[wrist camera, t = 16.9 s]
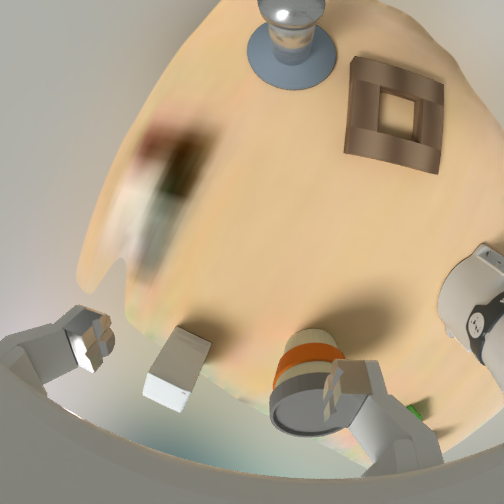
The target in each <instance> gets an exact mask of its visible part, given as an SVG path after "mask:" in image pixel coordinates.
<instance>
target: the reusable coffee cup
mask: <svg viewBox="0 0 504 504" xmlns="http://www.w3.org/2000/svg"><path fill="white" fill-rule="evenodd" d="M334 359H345V357H344V355H343V354H342V352H341V351H340V350H339V349H338V347H337V344H336V342H335V340H334V338H333V336H332V335H331V334H329V333H328V332H326V331H324V330H321V329H313V328H311V329H305V330H301V331H299V332H297V333H295V334H294V335H292V336H291V337H290V338H289V340H288V341H287V344H286V347H285V351H284V355H283V356H282V358H281V359H280V362H279V364H278V368H277V371H276V375H275V378H274V382H273V392H272V394H271V396H270V402H269V404H270V419H271V422H272V424H273V425H274V426H275V427H276V428H277V429H278V430H280V431H282V432H284V433H286V434H289V435H293V436H297V437H320V436H325V435H329V434H332V433H335V432H337V431H339V430H341V429H343V428H345V427H325V426H324V410H325V407H326V404H325V403H324V401H323V390H324V385H325V381H326V378H327V376H328V375H330V374H331V365H332V363H333V361H334Z"/></svg>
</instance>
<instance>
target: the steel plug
mask: <svg viewBox="0 0 504 504" xmlns="http://www.w3.org/2000/svg"><path fill="white" fill-rule="evenodd" d="M258 6H259V10H260V13H261V15H262V17H263V18H264V20H266V21H267V23H268V28H269V33H270V39H271V44H272V50H273V54H274V56H275V58H276V59H277V60H278V61H279V62H281V63H283V64H285V65H290V66H295V65H300V64H302V63H304V62H305V61H306V60H307V59H308V57H309V55H310V50H311V45H312V40H313V35H314V30H315V25H316V24H317V23H318V22H319V21H320V20H321V18H322V16H323V13H324V9H325V0H258Z"/></svg>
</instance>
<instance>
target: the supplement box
mask: <svg viewBox="0 0 504 504" xmlns="http://www.w3.org/2000/svg"><path fill="white" fill-rule="evenodd" d="M211 344H212V343H210V342H208V341H206V340H204V339H202V338H200V337H198V336H196V335H194V334H192V333H190V332H188V331H186V330H183V329H181V328H179V327H175V329H174V330H173V332H172V334H171V335H170V337H169V338H168V340H167V342H166V343H165V345H164V347H163V348H162V350H161V352H160V353H159V355H158V357H157V358H156V360H155V362H154V363H153V365H152V367H151V368H150V370H149V371H148V374H147V377H146V381H145V384H144V388H143V393H142V395H144V396H146V397H148V398H150V399H152V400H154V401H156V402H158V403H160V404H162V405H164V406H166V407H168V408H170V409H173V410H175V411H177V412H179V413H181V412H182V409H183V408H184V406H185V404H186V402H187V400H188V398H189V396H190V395H191V393H192V390H193V388H194V386H195V383H196V381H197V378H198V376H199V373H200V371H201V368H202V366H203V364H204V361H205V359H206V356H207V354H208V351H209V349H210V347H211Z"/></svg>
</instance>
